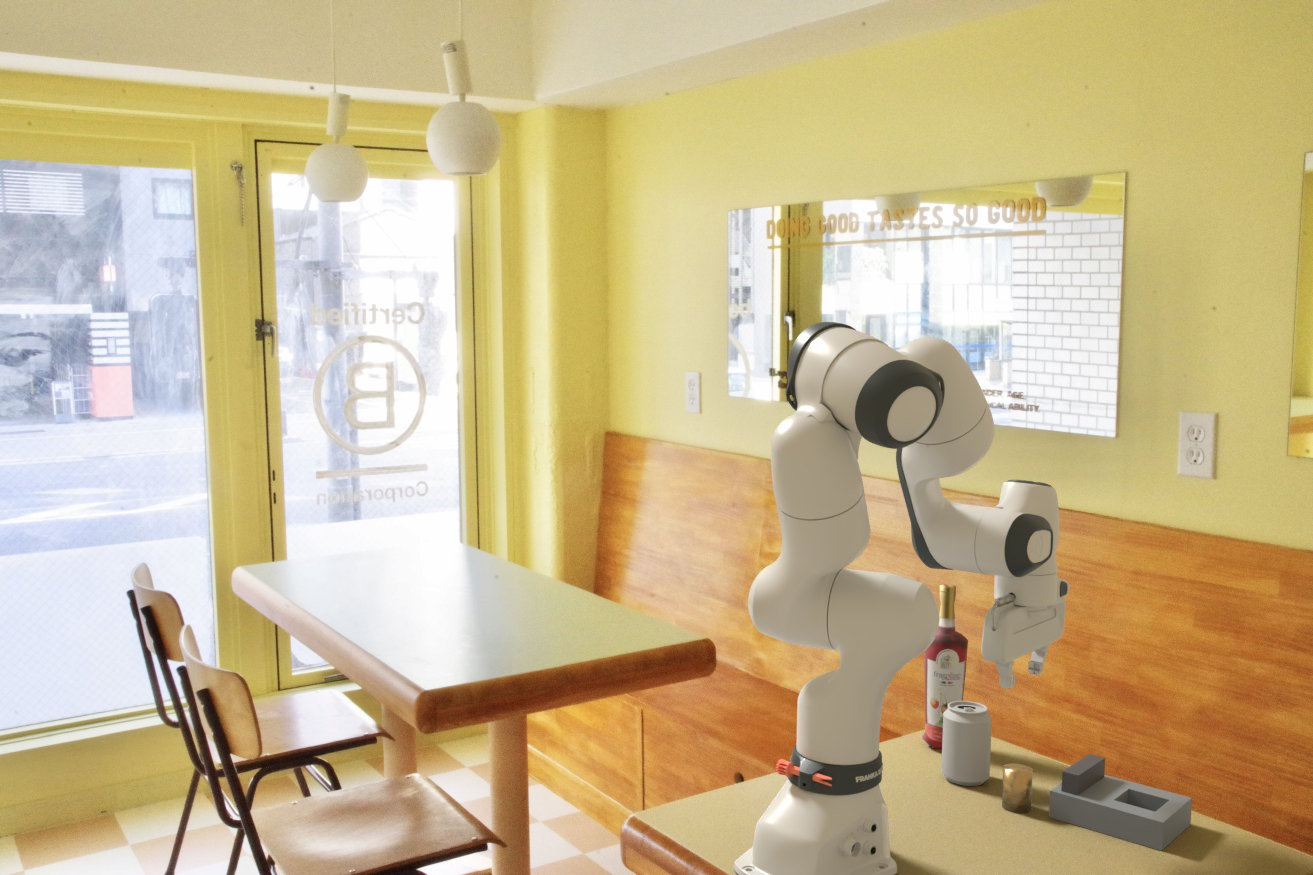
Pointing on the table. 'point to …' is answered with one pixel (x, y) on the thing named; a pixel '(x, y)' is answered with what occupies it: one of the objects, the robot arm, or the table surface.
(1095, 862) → the table surface
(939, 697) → the liquor
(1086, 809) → the frame
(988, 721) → the can
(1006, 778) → the gold cylinder puck
